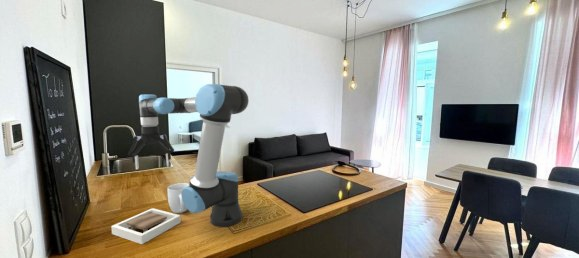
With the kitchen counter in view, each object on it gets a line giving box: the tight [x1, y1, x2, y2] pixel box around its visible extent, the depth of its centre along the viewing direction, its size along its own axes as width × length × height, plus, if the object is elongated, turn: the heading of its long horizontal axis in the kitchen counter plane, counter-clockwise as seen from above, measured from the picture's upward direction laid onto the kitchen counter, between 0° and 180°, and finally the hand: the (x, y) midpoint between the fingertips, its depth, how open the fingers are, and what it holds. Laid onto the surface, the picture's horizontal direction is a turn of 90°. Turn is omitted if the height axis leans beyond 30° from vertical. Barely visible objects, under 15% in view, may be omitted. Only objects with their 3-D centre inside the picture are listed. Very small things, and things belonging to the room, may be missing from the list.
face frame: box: [110, 207, 182, 245], centre depth 105 cm, size 19×19×4 cm
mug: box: [167, 182, 189, 214], centre depth 121 cm, size 15×11×13 cm
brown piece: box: [127, 212, 167, 233], centre depth 105 cm, size 11×11×4 cm
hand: (152, 167), depth 119 cm, fingers open, 13 cm apart
